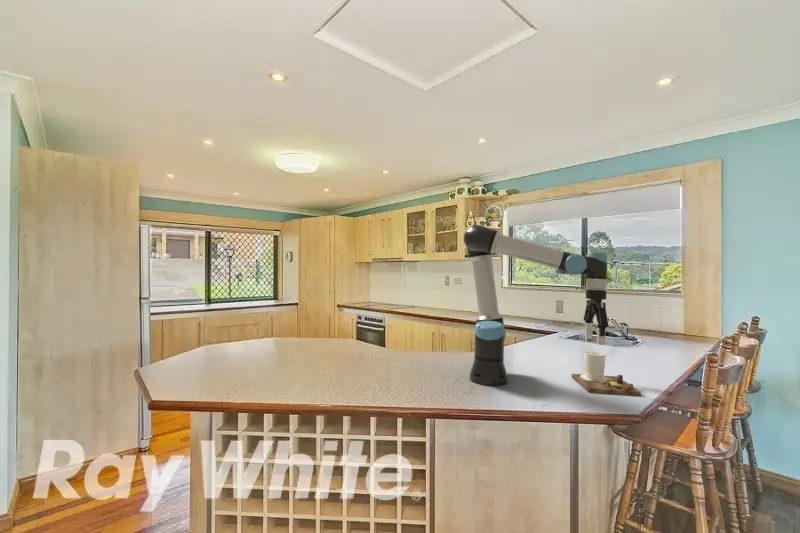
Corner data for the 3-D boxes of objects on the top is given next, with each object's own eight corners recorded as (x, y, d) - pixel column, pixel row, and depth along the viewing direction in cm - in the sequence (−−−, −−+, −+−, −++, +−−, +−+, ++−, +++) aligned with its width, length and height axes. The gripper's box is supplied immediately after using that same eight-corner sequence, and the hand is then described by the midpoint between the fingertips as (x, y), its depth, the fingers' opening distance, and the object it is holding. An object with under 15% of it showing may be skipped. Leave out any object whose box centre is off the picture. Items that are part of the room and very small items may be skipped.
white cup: (600, 375, 158) (600, 351, 158) (608, 381, 150) (608, 355, 150) (580, 374, 158) (580, 351, 159) (587, 380, 151) (588, 355, 151)
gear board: (588, 392, 141) (589, 377, 141) (571, 377, 162) (571, 363, 162) (640, 396, 138) (641, 380, 138) (616, 380, 159) (616, 366, 159)
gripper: (619, 291, 142) (617, 347, 142) (594, 288, 166) (593, 336, 166) (597, 290, 143) (596, 346, 143) (576, 287, 168) (575, 335, 167)
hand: (594, 341), depth 154 cm, fingers open, 13 cm apart
